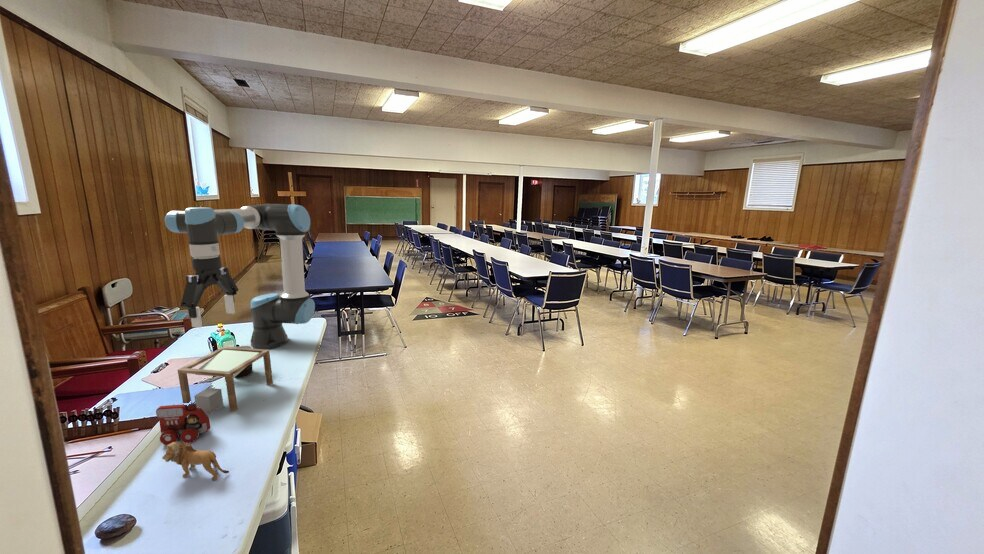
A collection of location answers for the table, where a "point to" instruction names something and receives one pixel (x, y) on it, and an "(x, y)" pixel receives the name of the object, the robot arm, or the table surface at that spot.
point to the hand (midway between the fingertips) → (214, 319)
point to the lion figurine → (192, 458)
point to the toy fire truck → (181, 422)
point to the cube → (209, 400)
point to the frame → (223, 373)
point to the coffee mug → (248, 369)
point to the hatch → (228, 361)
